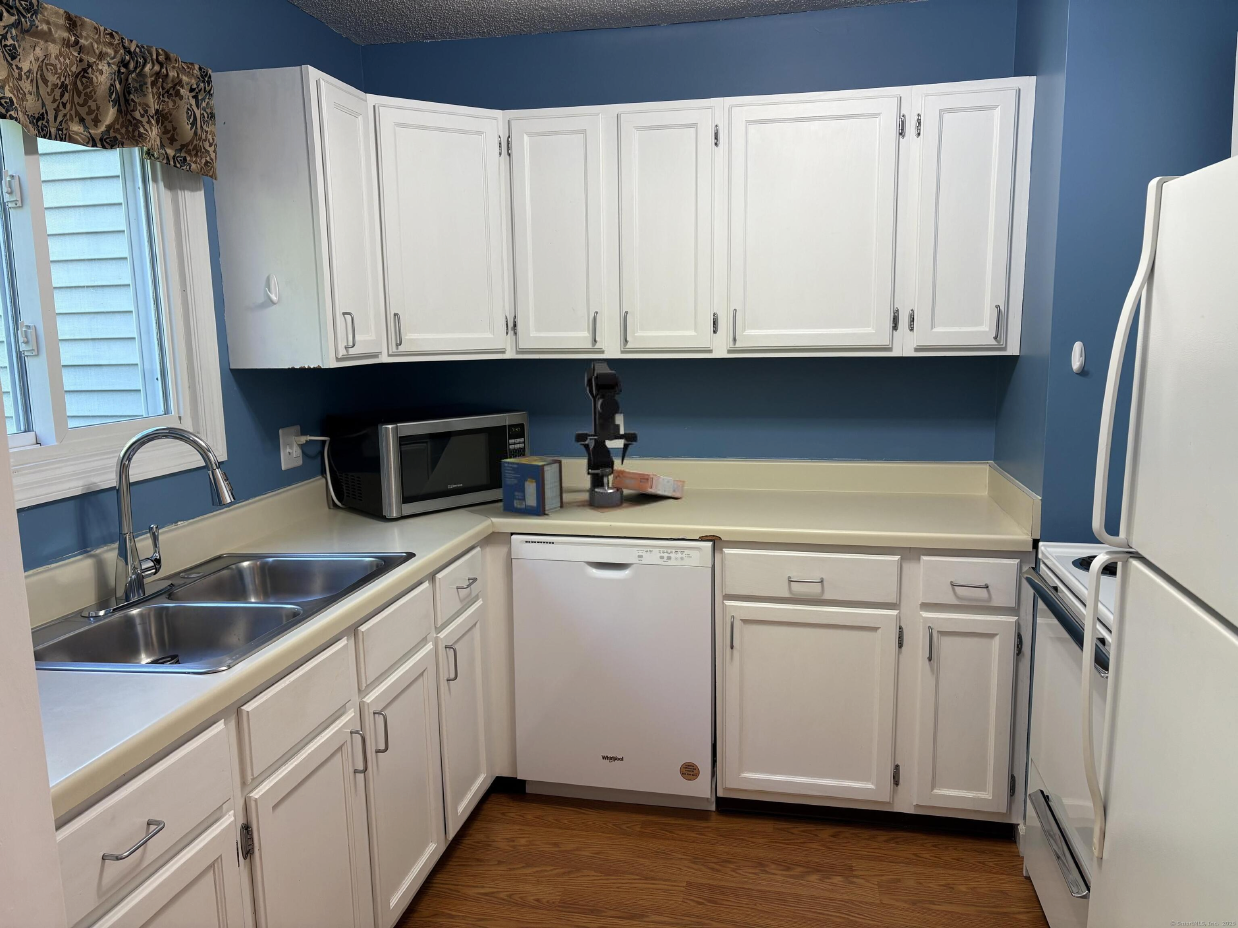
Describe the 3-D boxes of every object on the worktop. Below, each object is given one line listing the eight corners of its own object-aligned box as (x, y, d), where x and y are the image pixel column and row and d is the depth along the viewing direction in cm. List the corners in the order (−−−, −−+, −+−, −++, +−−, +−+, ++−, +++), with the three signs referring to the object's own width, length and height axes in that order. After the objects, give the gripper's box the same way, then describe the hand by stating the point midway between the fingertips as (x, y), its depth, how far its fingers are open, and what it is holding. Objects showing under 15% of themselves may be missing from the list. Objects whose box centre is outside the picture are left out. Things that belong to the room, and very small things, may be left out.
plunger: (590, 490, 262) (590, 469, 261) (608, 488, 266) (607, 466, 265) (603, 494, 257) (603, 471, 256) (621, 491, 261) (620, 469, 260)
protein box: (524, 505, 267) (523, 455, 264) (563, 510, 258) (562, 459, 256) (501, 511, 258) (500, 460, 256) (541, 516, 250) (540, 464, 247)
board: (560, 503, 268) (560, 501, 268) (601, 497, 277) (601, 495, 277) (602, 515, 250) (602, 512, 250) (644, 508, 260) (644, 505, 260)
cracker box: (685, 480, 276) (650, 473, 259) (682, 498, 275) (647, 492, 258) (649, 475, 284) (613, 468, 267) (646, 493, 283) (610, 487, 266)
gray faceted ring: (577, 502, 265) (577, 488, 265) (604, 498, 271) (604, 484, 271) (602, 509, 255) (602, 494, 254) (629, 504, 261) (629, 490, 261)
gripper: (573, 416, 250) (574, 469, 253) (637, 416, 250) (637, 469, 252) (576, 413, 261) (576, 463, 264) (637, 412, 261) (637, 463, 263)
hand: (606, 465), depth 260 cm, fingers open, 9 cm apart
